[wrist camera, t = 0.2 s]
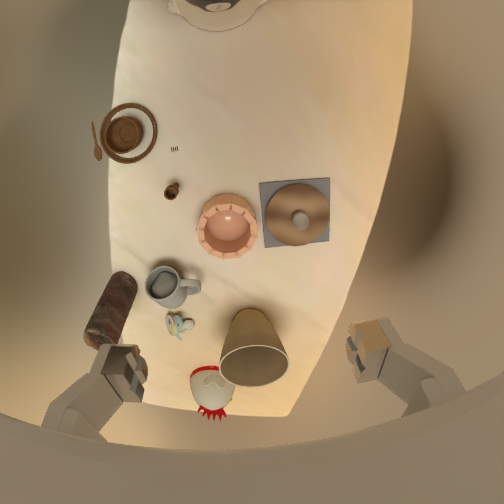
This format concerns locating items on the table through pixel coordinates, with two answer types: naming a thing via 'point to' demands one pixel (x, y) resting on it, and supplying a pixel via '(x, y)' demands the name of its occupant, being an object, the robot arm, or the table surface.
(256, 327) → the plant pot
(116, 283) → the brown textured cylinder
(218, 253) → the bowl
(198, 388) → the kitchen timer
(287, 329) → the table surface
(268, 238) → the mat
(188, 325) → the pacifier
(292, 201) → the lid
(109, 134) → the place setting
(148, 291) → the ceramic mug
